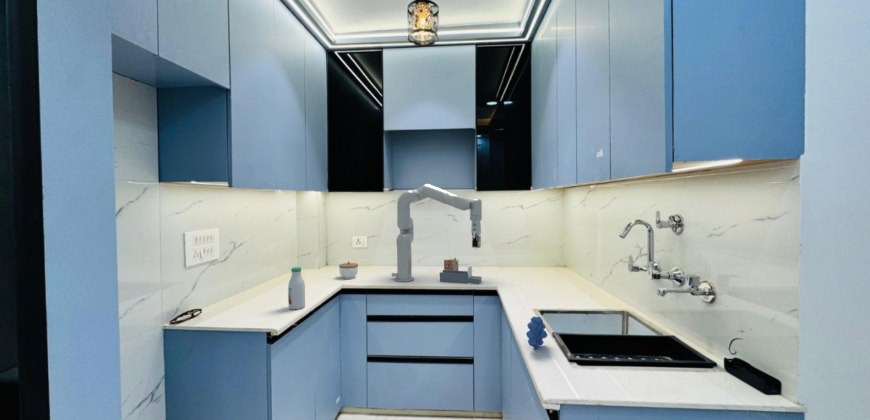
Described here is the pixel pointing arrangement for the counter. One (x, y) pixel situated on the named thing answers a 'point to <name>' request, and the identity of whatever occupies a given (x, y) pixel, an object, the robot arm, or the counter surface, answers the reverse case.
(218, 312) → the counter surface
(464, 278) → the tube
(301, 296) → the milk bottle
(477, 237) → the pine block
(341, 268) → the lidded bowl
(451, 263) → the printed cardboard box
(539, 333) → the grapes
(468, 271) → the plunger
